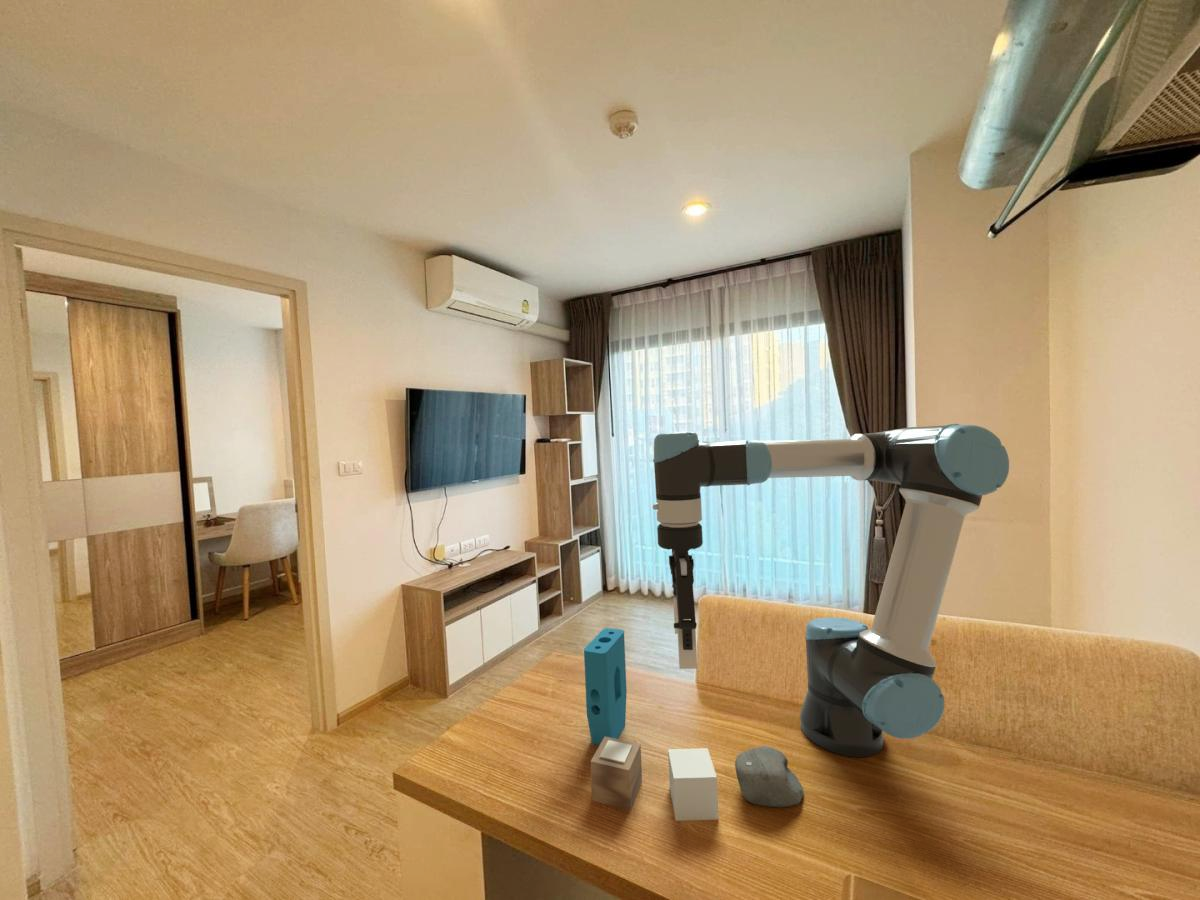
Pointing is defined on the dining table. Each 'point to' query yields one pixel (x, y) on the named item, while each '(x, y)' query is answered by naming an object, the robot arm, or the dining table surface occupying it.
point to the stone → (767, 778)
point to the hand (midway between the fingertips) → (685, 648)
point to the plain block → (693, 784)
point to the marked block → (616, 773)
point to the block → (605, 684)
